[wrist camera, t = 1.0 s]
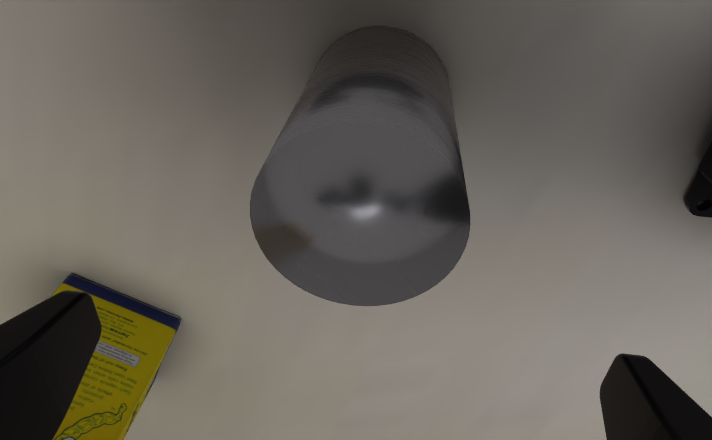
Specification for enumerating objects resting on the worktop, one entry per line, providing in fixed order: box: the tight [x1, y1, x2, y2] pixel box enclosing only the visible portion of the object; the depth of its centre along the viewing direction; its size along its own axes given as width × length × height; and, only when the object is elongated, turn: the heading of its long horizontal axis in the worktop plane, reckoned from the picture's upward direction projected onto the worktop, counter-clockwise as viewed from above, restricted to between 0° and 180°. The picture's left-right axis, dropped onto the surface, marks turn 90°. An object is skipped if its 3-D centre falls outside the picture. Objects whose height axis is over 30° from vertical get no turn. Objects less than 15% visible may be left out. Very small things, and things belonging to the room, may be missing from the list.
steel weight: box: [250, 26, 470, 306], centre depth 15 cm, size 5×5×8 cm
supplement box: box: [51, 274, 180, 440], centre depth 22 cm, size 6×6×11 cm
